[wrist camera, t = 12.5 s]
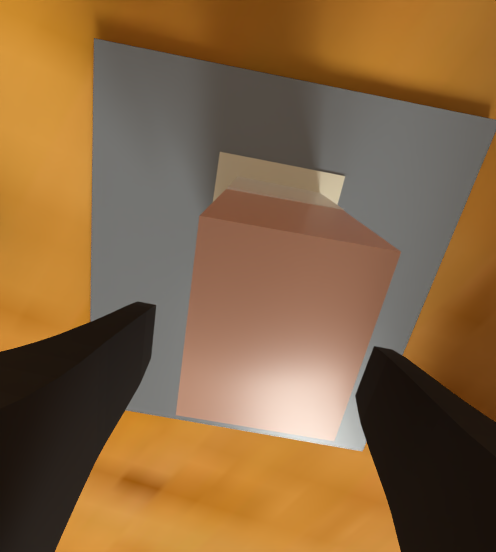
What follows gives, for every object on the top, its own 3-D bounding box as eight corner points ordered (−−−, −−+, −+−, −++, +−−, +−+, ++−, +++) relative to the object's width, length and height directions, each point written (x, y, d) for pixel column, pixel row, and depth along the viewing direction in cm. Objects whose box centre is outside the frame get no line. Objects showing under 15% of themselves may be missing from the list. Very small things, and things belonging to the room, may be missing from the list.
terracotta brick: (342, 210, 11) (401, 251, 6) (308, 336, 13) (334, 441, 8) (226, 189, 11) (199, 215, 6) (207, 319, 13) (175, 415, 8)
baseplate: (488, 122, 15) (501, 120, 14) (358, 441, 22) (362, 452, 21) (102, 44, 15) (92, 37, 14) (95, 395, 22) (88, 405, 21)
